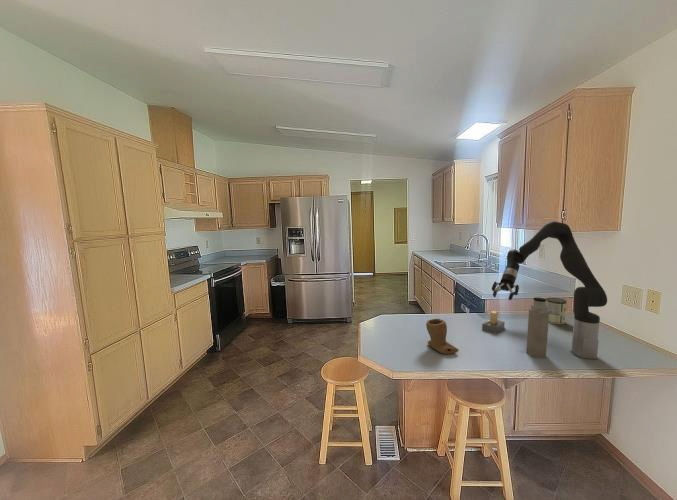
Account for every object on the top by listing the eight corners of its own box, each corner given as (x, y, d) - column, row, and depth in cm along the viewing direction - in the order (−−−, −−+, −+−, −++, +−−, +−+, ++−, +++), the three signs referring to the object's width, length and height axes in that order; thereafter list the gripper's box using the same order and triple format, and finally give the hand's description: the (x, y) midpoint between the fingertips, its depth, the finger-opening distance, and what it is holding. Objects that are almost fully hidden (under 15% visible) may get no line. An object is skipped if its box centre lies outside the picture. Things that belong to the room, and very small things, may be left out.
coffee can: (544, 317, 189) (545, 296, 188) (563, 320, 184) (565, 298, 182) (545, 322, 181) (546, 300, 179) (565, 325, 175) (567, 303, 173)
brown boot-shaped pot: (421, 344, 154) (422, 317, 152) (441, 341, 156) (441, 314, 155) (438, 357, 139) (438, 327, 137) (459, 354, 142) (460, 325, 140)
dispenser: (490, 325, 177) (490, 316, 176) (504, 329, 171) (504, 320, 171) (481, 330, 169) (482, 321, 168) (496, 335, 163) (497, 325, 163)
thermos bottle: (528, 348, 146) (531, 295, 143) (547, 353, 141) (551, 298, 137) (524, 354, 140) (528, 298, 137) (544, 359, 135) (548, 301, 132)
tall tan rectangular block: (492, 326, 172) (493, 310, 171) (496, 328, 170) (497, 311, 169) (489, 328, 170) (490, 312, 168) (494, 329, 168) (495, 313, 167)
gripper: (495, 271, 185) (487, 292, 179) (521, 274, 175) (513, 297, 168) (498, 278, 189) (490, 299, 183) (523, 281, 179) (516, 303, 173)
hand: (501, 298), depth 176 cm, fingers open, 8 cm apart
